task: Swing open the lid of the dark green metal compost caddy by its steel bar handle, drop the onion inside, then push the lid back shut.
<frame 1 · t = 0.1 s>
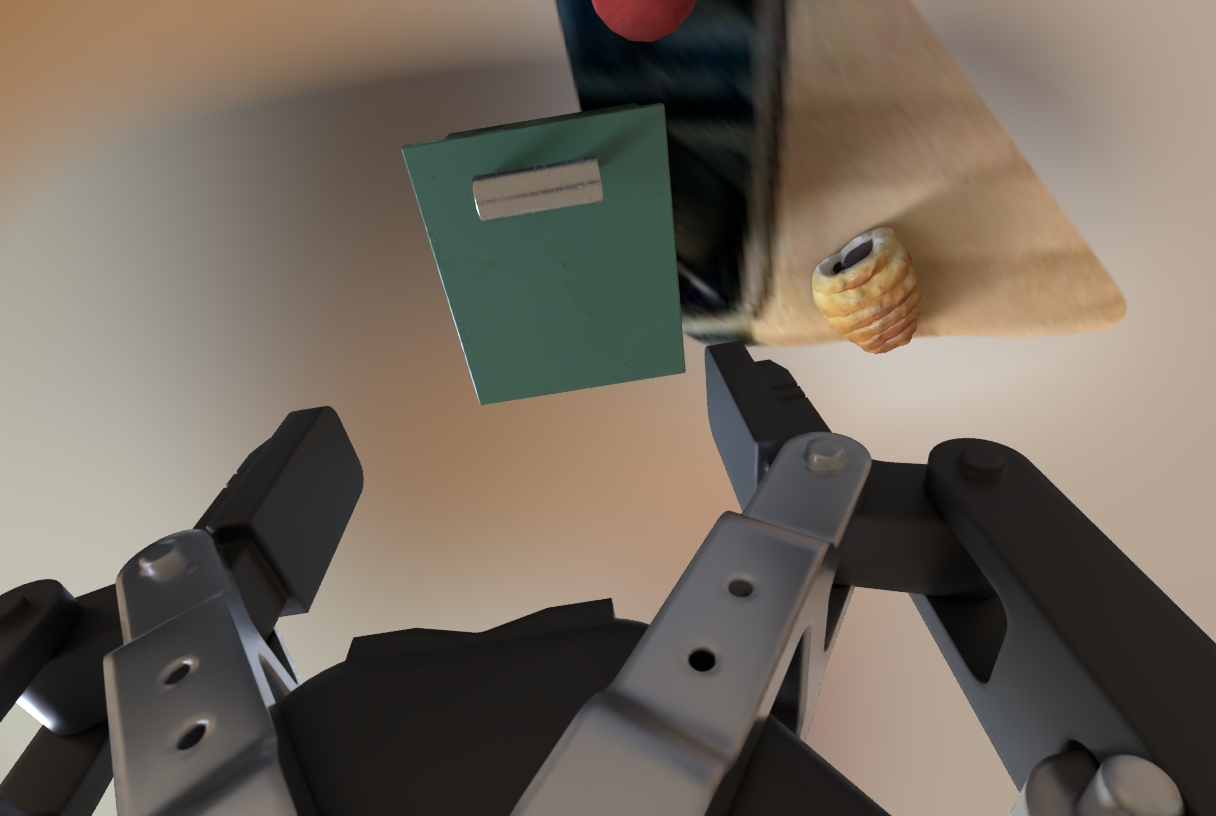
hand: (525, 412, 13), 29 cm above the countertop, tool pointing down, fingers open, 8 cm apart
caddy: (561, 221, 39), on the countertop
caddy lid: (560, 286, 27), point 13 cm above the countertop, hinge at 0.0°
pastry: (861, 284, 43), on the countertop
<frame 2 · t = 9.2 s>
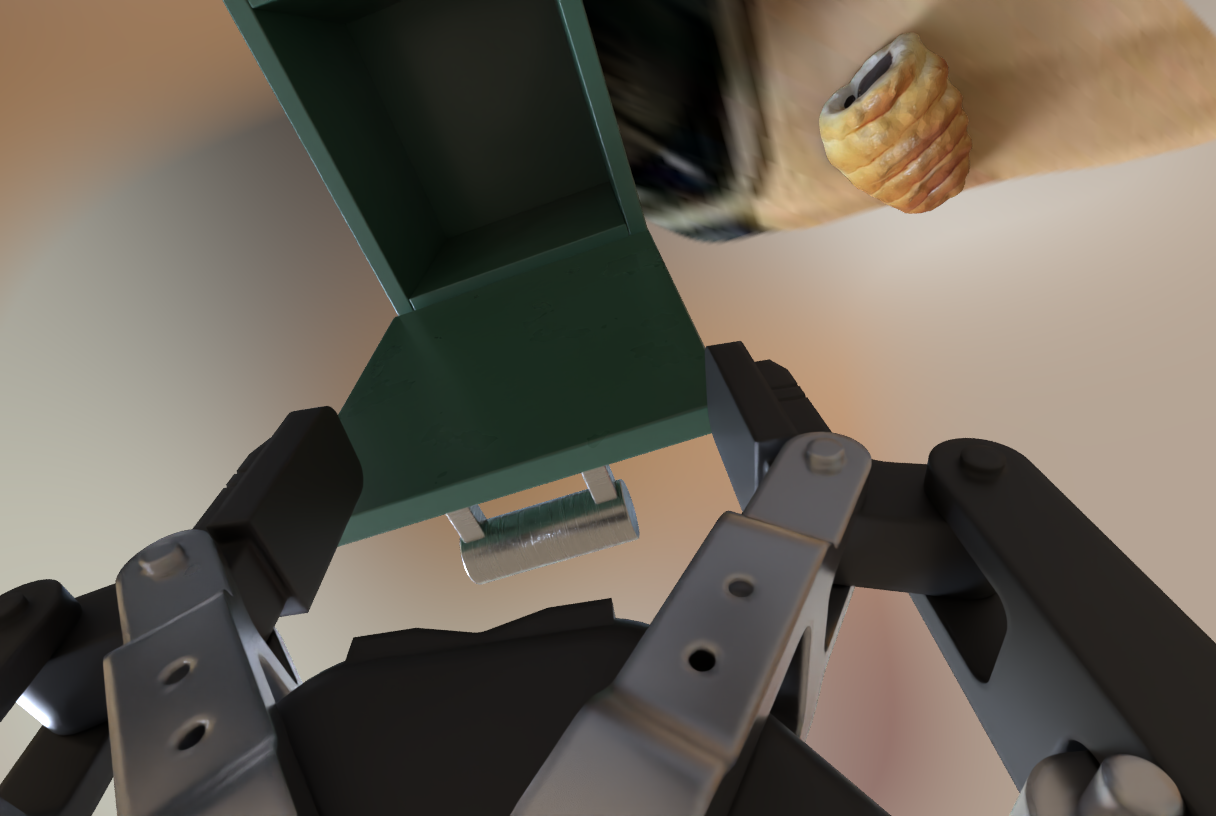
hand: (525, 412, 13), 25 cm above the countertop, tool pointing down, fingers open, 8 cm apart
caddy: (489, 107, 31), on the countertop
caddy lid: (535, 404, 20), point 18 cm above the countertop, hinge at 91.7°, touching gripper
pastry: (886, 126, 33), on the countertop
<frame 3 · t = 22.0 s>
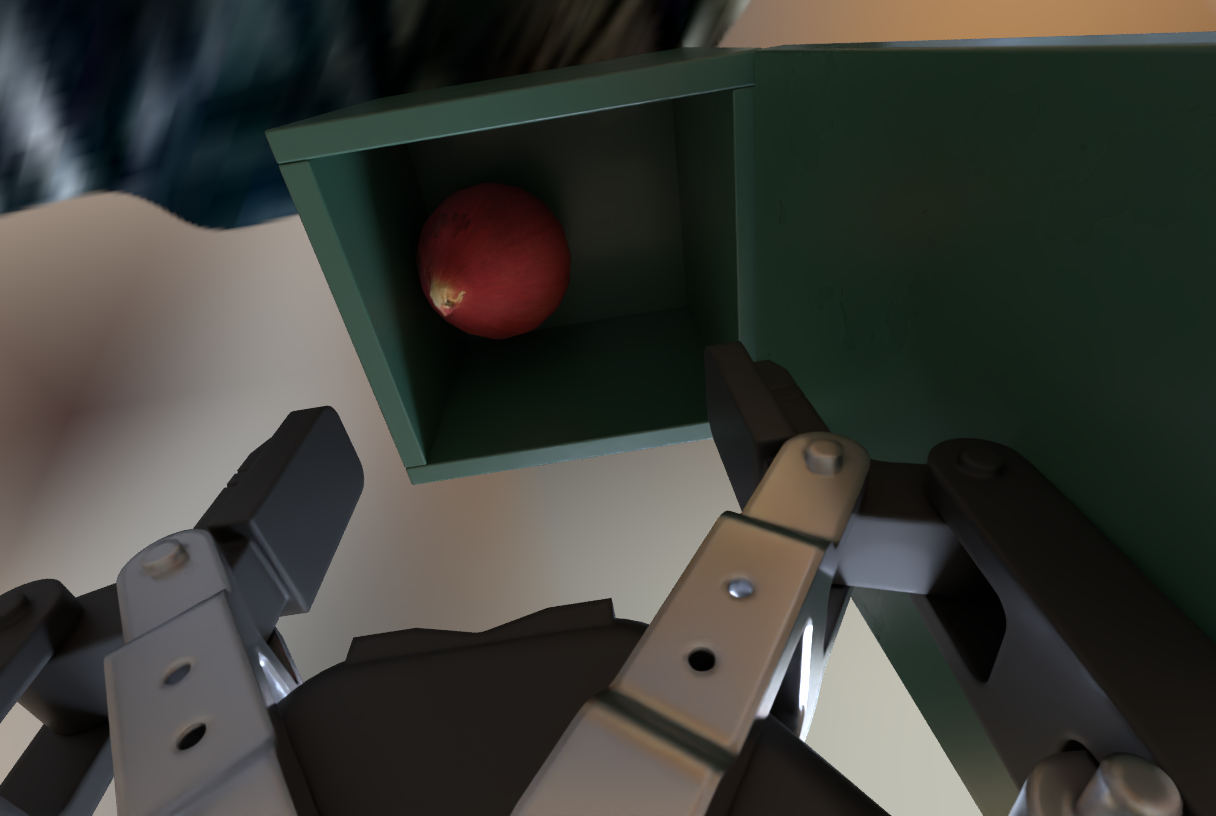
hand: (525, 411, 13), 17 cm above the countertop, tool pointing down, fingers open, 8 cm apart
caddy: (557, 217, 27), on the countertop
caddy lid: (995, 372, 11), point 18 cm above the countertop, hinge at 93.4°, touching gripper, hand
onion: (540, 239, 26), point 1 cm above the countertop, touching caddy
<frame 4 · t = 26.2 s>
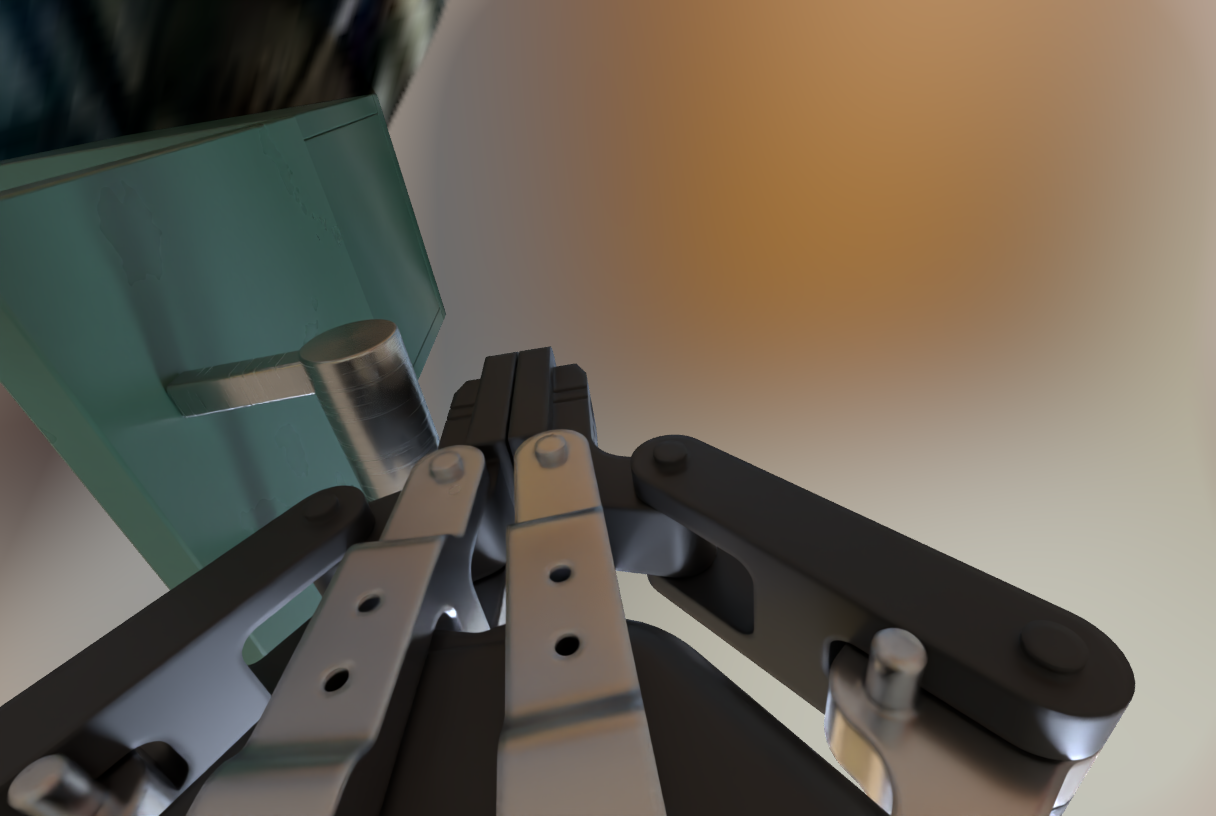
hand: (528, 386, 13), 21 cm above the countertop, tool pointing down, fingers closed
caddy: (299, 233, 31), on the countertop
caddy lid: (367, 359, 16), point 18 cm above the countertop, hinge at 93.3°, touching gripper
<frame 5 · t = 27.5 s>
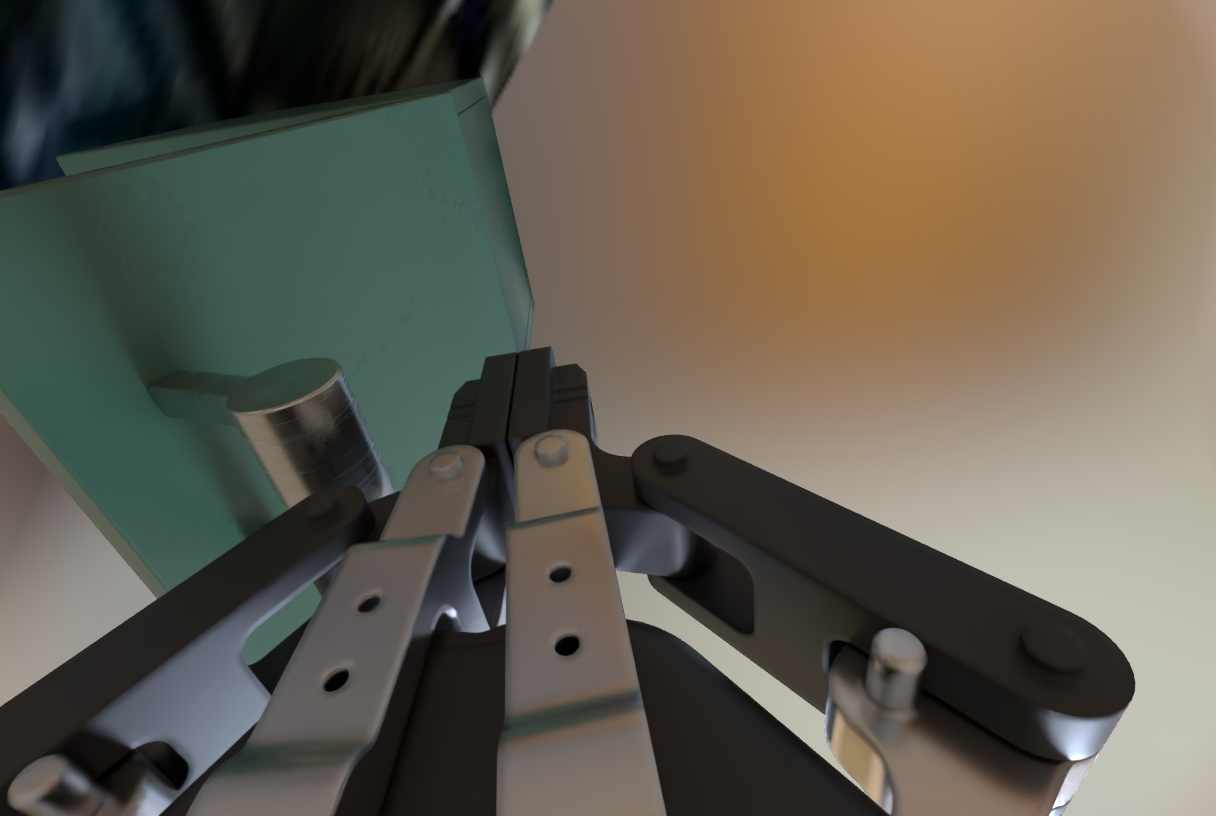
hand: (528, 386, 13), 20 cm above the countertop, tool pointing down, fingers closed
caddy: (393, 221, 30), on the countertop
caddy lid: (424, 368, 15), point 18 cm above the countertop, hinge at 64.7°, touching gripper
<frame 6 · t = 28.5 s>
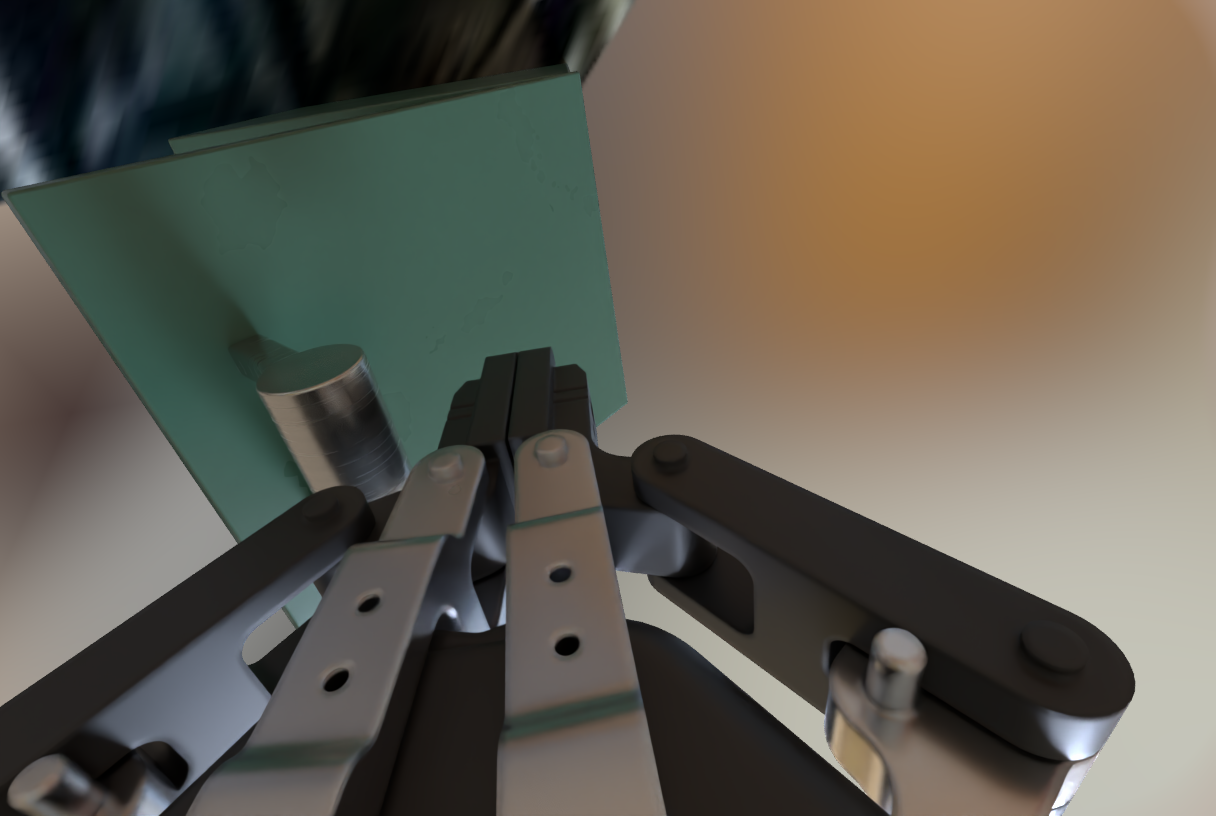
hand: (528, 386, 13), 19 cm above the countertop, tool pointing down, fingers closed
caddy: (467, 212, 30), on the countertop
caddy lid: (493, 356, 15), point 18 cm above the countertop, hinge at 46.0°, touching gripper
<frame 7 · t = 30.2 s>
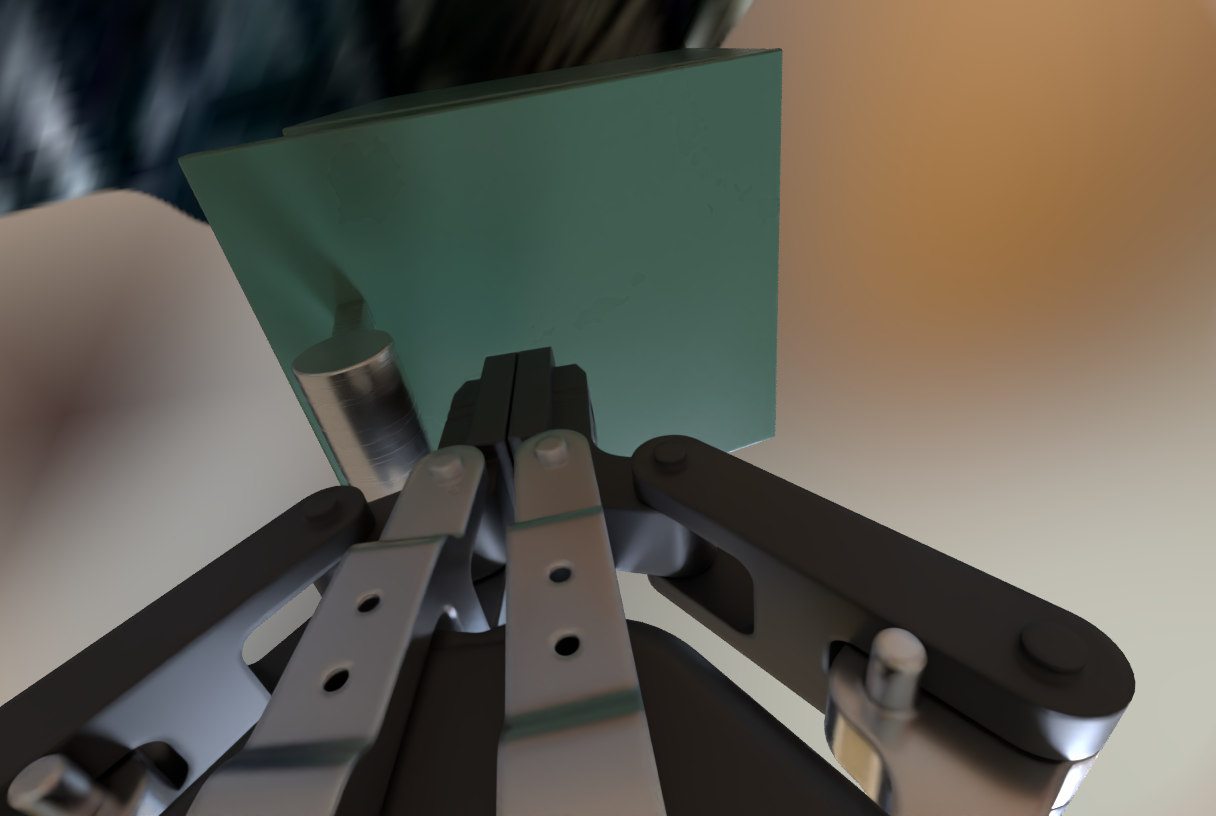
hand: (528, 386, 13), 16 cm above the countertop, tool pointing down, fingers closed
caddy: (562, 215, 27), on the countertop
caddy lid: (581, 363, 14), point 15 cm above the countertop, hinge at 15.5°, touching gripper
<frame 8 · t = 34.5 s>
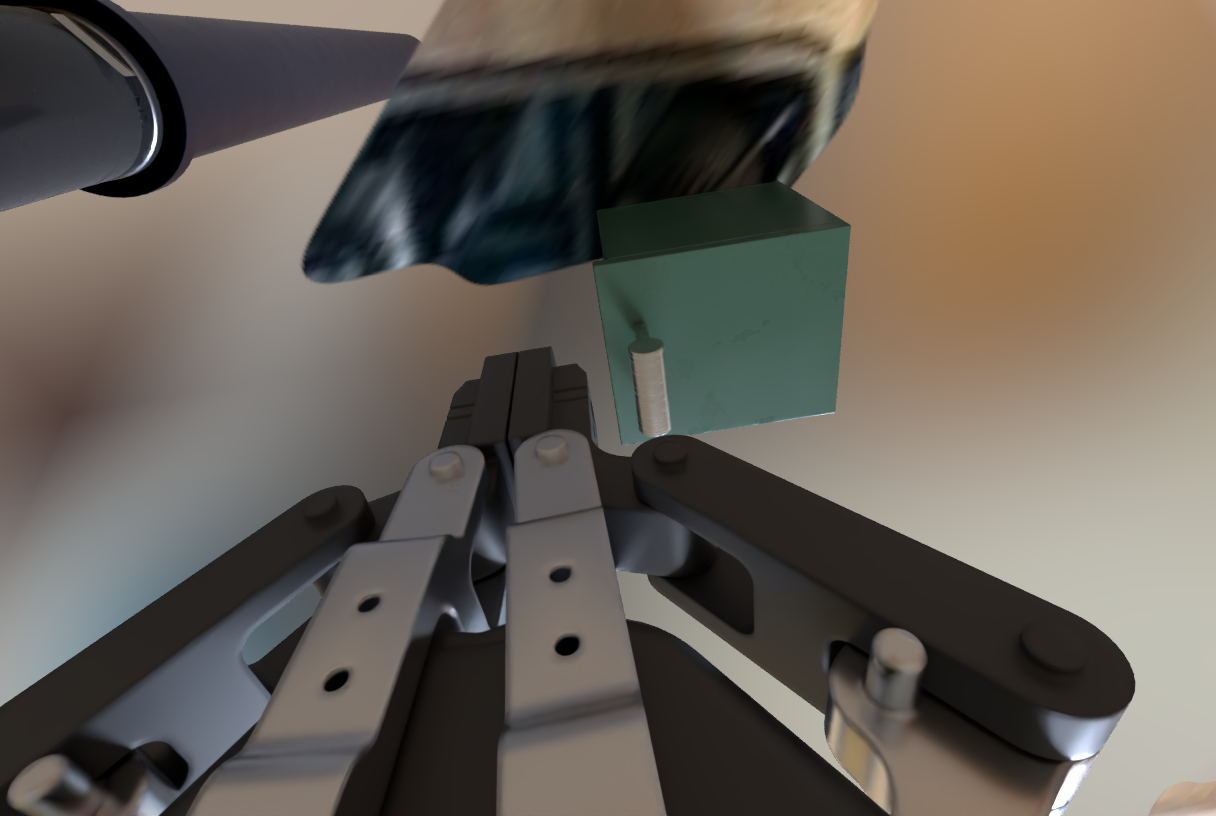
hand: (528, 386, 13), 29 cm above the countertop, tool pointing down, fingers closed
caddy: (692, 276, 43), on the countertop
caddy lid: (732, 360, 31), point 13 cm above the countertop, hinge at -0.2°, touching caddy
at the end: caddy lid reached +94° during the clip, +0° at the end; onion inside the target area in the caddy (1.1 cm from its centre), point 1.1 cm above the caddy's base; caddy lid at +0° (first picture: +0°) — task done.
